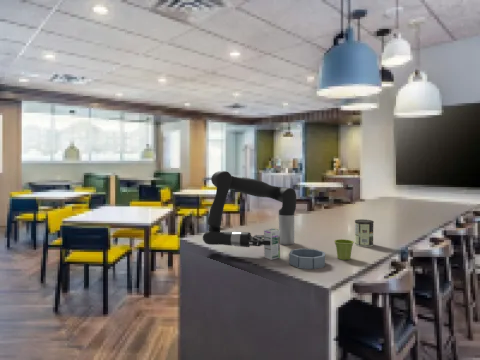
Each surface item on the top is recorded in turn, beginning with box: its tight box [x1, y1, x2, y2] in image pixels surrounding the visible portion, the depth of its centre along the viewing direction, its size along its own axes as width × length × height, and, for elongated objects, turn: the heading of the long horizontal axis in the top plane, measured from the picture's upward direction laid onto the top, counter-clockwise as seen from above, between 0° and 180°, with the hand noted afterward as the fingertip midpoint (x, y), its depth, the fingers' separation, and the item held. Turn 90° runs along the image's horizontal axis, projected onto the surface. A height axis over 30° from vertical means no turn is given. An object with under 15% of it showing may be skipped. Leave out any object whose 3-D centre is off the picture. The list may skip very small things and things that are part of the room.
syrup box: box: [263, 227, 281, 261], centre depth 170 cm, size 6×6×14 cm
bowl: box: [288, 247, 326, 270], centre depth 160 cm, size 16×16×5 cm
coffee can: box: [354, 219, 375, 248], centre depth 195 cm, size 10×10×14 cm
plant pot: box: [334, 238, 355, 261], centre depth 168 cm, size 9×9×9 cm
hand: (271, 241), depth 170 cm, fingers open, 8 cm apart
